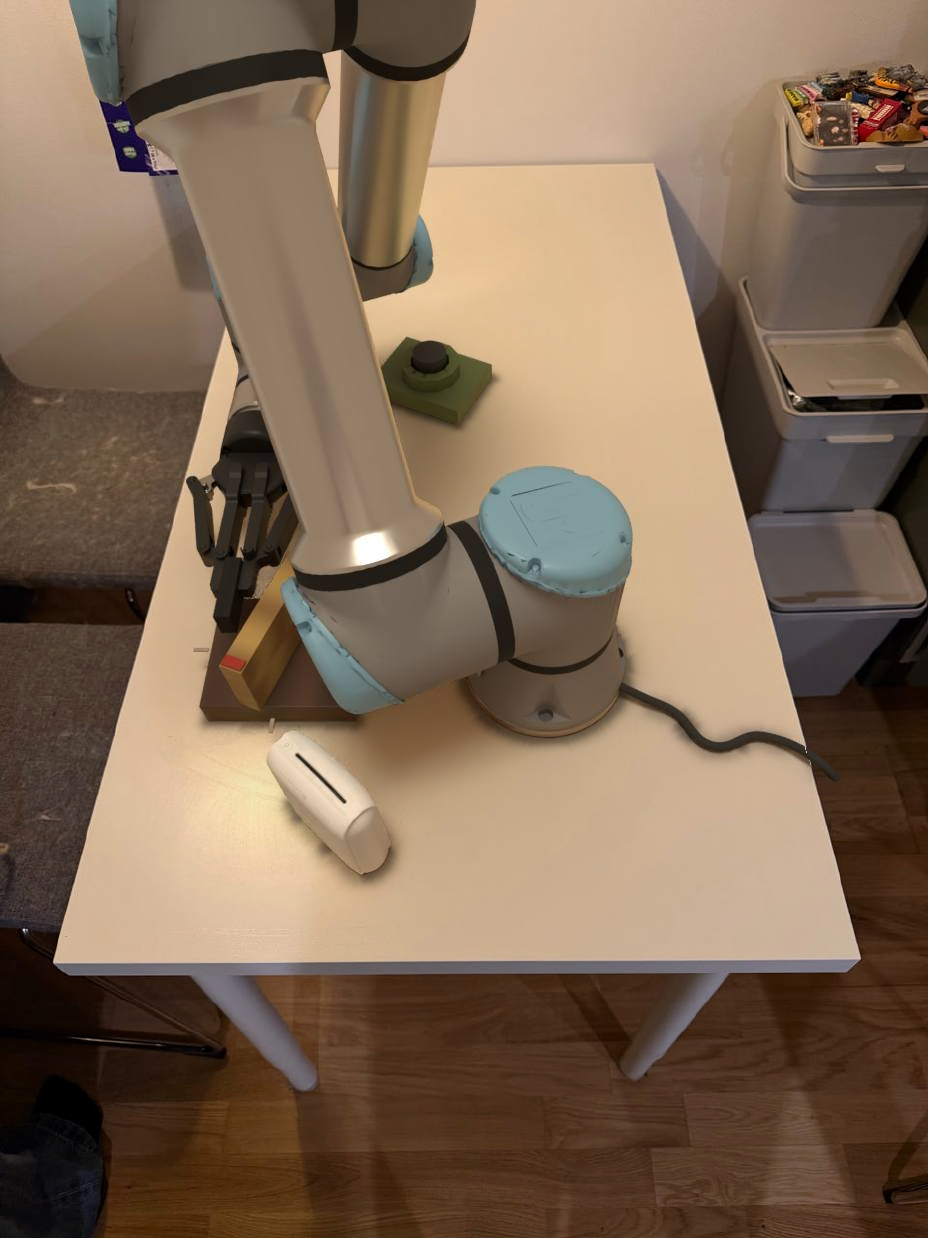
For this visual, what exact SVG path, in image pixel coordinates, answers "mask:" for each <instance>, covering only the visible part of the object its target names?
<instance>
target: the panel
mask: <svg viewBox="0 0 928 1238" xmlns="http://www.w3.org/2000/svg"><path fill="white" fill-rule="evenodd" d="M260 599H261V597H260V598H259V597H257V598H256V597H255V598H253V597H252V598H244V601H243V606H242V611H241V617H240V622H239V627H238V633H221V632H220V630H219V628H218V626H217V624H216V623H215V629H214V633H213V638H212V643H211V649H210V648H209V647H193V651H192V652H194V653H208V652H209V650H210V654H209V657H208V663H207V668H206V671H205V672H206V673H205V677H204V682H203V687H202V692H201V697H200V701H199V706H198V707H199V709H200V710H201V712H202V713H203V715H204V716H205V718H206V719H207V721H208V722H269V725H268V734H273V733H274V727H275V722H356V721H357V714H353V713H350V712H347V711H346V710H344V709H343V708H342V707H340V706H339V704H338V703H337V702H336V700H335V699H334V698H333V696H332V694H331V693H330V691H329V689H328V688H327V686H326V684H325V683H324V681H323V679H322V677H321V675H320V674H319V672H318V670H317V668H316V666H315V664H314V663H313V661H312V659H311V657H310V655H309V653H308V651H307V649H306V647H305V645H304V643H303V641H302V639H301V641H300V643H299V645H298V646H297V648H296V650H295V652H294V653H293V655H292V657H291V659H290V661H289V662H288V664H287V666H286V668H285V669H284V671H283V673H282V675H281V676H280V678H279V680H278V682H277V683H276V685H275V687H274V689H273V690H272V692H271V694H270V696H269V697H268V699H267V701H266V703H265V704H264V706H263V708H262V710H261V711H258V710H256V709H253V708H250V707H247V706H244V705H241V704H240V703H239V702H238V700H237V698H236V696H235V694H234V693H233V691H232V689H231V687H230V686H229V684H228V682H227V680H226V678H225V677H224V675H223V673H222V671H221V670H220V668H219V665H220V663H221V662H222V660H223V658H224V657H225V655H226V654H227V652H228V650H229V649H230V647H231V646H232V644H233V642H234V641H235V639H236V637H237V636H238V634H239V633H240V631H241V629H242V628H243V626H244V624H245V623H246V621H247V620H248V618H249V616H250V615H251V613H252V612H253V610H254V608H255V607H256V605H257V603H258V602H259V600H260Z"/></svg>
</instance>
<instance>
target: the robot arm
mask: <svg viewBox="0 0 928 1238" xmlns="http://www.w3.org/2000/svg"><path fill="white" fill-rule="evenodd" d="M68 2H69V3H68V4H69V7H70V11H71V14H72V18H73V21H74V24H75V26H76V27H75V28H76V32H77V36H78V39H79V44H80V47H81V50H82V54H83V57H84V63H85V66H86V71H87V73H88V77H89V80H90V84H91V87H92V89H93V93H94V95H95V97H96V98H97V99H98V100H99V101H100V102H103V103H109V104H111V105H113V106H117V105H118V104H120V103H122V102H124V103H125V106H126V108H127V111H128V113H129V116H130V119H131V122H132V124H133V127H134V131H135V134H136V136H137V137H139V138H140V139H142V140H143V141H145V142H146V143H147V144H149V145H151V146H152V147H154V148H155V149H157V150H158V151H160V152H161V153H163V154H164V155H165V156H167V157H168V158H169V159H170V160H171V161H172V162H173V163H174V166H175V168H176V171H177V173H178V176H179V179H180V182H181V185H182V188H183V191H184V194H185V197H186V200H187V202H188V206H189V209H190V211H191V214H192V217H193V220H194V223H195V226H196V228H197V232H198V234H199V237H200V240H201V243H202V246H203V249H204V251H205V261H206V265H207V269H208V272H209V273H208V274H209V275H210V280H211V287H212V289H213V293H214V297H215V298H216V301H217V304H218V307H219V309H220V313H221V316H222V318H223V321H224V324H225V328H226V331H227V334H228V337H229V339H230V344H231V348H232V351H233V353H234V357H235V360H236V362H237V371H238V372H237V377H236V381H235V386H234V391H233V395H232V400H231V403H230V406H229V411H228V414H227V420H226V425H225V428H224V433H223V436H222V442H221V446H220V450H219V458H218V461H217V462H216V463H215V464H214V465H213V467H212V468H211V472H210V474H208V475H206V476H204V477H201V478H200V479H199V477H198V476H196V475H190V476H188V477H186V479H185V483H186V485H187V486H186V487H187V488H188V490H189V493H190V494H191V497H192V501H193V502H192V503H193V518H194V531H195V534H194V535H195V546H196V547H195V548H196V551H197V553H198V555H199V557H200V560H201V561H202V564H203V565H204V567H206V568H212V571H211V576H210V581H209V589H210V591H211V592H212V595H213V596H214V599H215V604H214V609H213V613H212V618H213V620H214V622H215V625H216V624H217V626H218V628H219V630H220V632H221V633H238V627H239V622H240V617H241V611H242V606H243V601H244V598H253V597H254V596H255V594H256V590H257V583H258V578H259V572H260V571H261V570H262V569H263V568H265V567H268V566H269V567H271V568H277V567H279V566H281V564H282V562H283V560H284V559H283V558H284V557H285V554H286V552H287V550H288V548H289V546H290V543H291V542H292V539H293V537H294V534H295V533H296V530H297V529H298V526H299V527H300V532H299V534H298V536H297V537H296V539H295V541H294V543H293V545H292V547H291V549H290V550H289V552H290V553H289V552H288V553H289V559H290V562H291V565H292V568H293V571H294V573H295V576H296V577H294V576H292V577H289V578H288V579H287V581H286V582H284V583H282V585H281V587H280V593H281V596H282V598H283V601H284V603H285V606H286V608H287V610H288V612H289V615H290V617H291V619H292V621H293V622H294V624H295V626H296V627H297V630H298V632H299V634H300V636H301V638H302V641H303V643H304V645H305V647H306V649H307V651H308V653H309V655H310V657H311V659H312V661H313V663H314V664H315V666H316V668H317V670H318V672H319V674H320V675H321V677H322V679H323V681H324V683H325V684H326V686H327V688H328V689H329V691H330V693H331V694H332V696H333V698H334V699H335V700H336V702H337V703H338V704H339V706H340V707H342V708H343V709H344V710H346V711H347V712H350V713H353V714H356V715H363V714H367V713H371V712H374V711H376V710H379V709H382V708H386V707H389V706H391V705H402V704H405V703H406V700H408V699H411V698H413V697H416V696H419V695H422V694H424V693H427V692H430V691H432V690H435V689H438V688H440V687H442V686H445V685H448V684H450V683H454V682H455V681H459V680H461V679H464V678H466V682H467V685H468V688H469V691H470V694H471V695H472V697H473V698H474V700H475V702H476V703H477V705H478V706H479V707H480V708H481V710H482V711H483V712H484V713H486V715H488V716H489V717H490V718H491V719H492V720H493V721H495V722H496V723H498V724H499V725H501V726H503V727H505V728H507V729H509V730H510V731H513V732H516V733H519V734H523V735H526V736H532V737H541V738H555V737H562V736H567V735H571V734H574V733H577V732H580V731H583V730H585V729H586V728H588V727H591V726H592V725H593V724H595V723H596V722H597V721H599V720H600V719H601V718H603V716H605V715H606V714H607V713H608V711H610V709H611V708H612V707H613V706H614V703H615V702H616V700H617V698H618V696H619V695H620V693H623V694H625V695H627V696H629V697H632V698H634V699H636V700H638V701H640V702H642V703H644V704H646V705H649V706H650V707H654V708H656V709H658V710H661V711H662V712H665V713H666V714H668V715H670V716H672V717H673V718H675V720H677V721H678V723H679V724H680V725H681V726H682V727H683V728H684V730H685V731H686V733H687V734H688V735H689V737H690V738H691V739H692V740H693V741H694V742H695V743H696V744H698V745H699V746H701V747H702V748H704V749H706V750H710V751H714V752H727V751H730V750H733V749H735V748H737V747H740V746H742V745H745V744H746V743H748V742H752V741H762V742H767V743H771V744H775V745H778V746H782V747H784V748H787V749H789V750H791V751H793V752H795V753H797V754H799V755H801V756H802V757H804V758H805V759H807V760H808V761H810V762H811V763H813V764H814V766H816V767H817V768H818V769H820V770H821V771H822V772H823V773H824V774H825V775H826V776H827V778H829V780H831V781H832V782H835V783H838V782H840V781H841V777H840V775H839V774H838V772H837V771H836V770H835V769H834V767H832V766H831V765H830V764H829V763H828V761H826V760H825V759H824V758H822V757H821V756H820V755H819V754H818V753H816V752H814V751H813V750H811V749H810V748H809V747H807V746H805V745H803V744H801V743H800V742H797V741H796V740H793V739H791V738H788V737H786V736H783V735H781V734H776V733H772V732H768V731H763V730H760V731H759V730H754V731H748V732H747V731H746V732H744V733H742V734H740V735H737V736H735V737H733V738H731V739H728V740H725V741H714V740H710V739H708V738H707V737H705V736H703V734H702V733H700V731H698V729H697V728H696V727H695V726H694V724H693V723H692V721H691V720H690V719H689V718H688V717H687V715H686V714H685V713H683V712H682V711H681V710H680V709H679V708H677V707H676V706H674V705H672V704H670V703H668V702H667V701H664V700H662V699H659V698H657V697H654V696H653V695H650V694H648V693H645V692H643V691H641V690H639V689H637V688H635V687H633V686H630V685H628V684H626V683H624V679H625V678H624V677H625V672H626V653H625V647H624V642H623V639H622V637H621V634H620V631H619V628H618V626H617V619H618V615H619V612H620V611H619V610H620V606H621V602H622V598H623V594H624V591H625V586H626V582H627V579H628V577H629V575H630V573H631V569H632V565H633V555H632V553H633V542H634V541H633V540H634V537H633V535H634V534H633V533H634V532H633V526H632V521H631V519H630V516H629V514H628V512H627V510H626V507H625V506H624V505H623V503H622V502H621V501H620V499H619V498H618V497H617V496H616V494H614V493H613V492H612V491H611V489H609V487H607V486H606V485H604V484H603V483H601V482H600V481H598V480H597V479H595V478H594V477H592V476H589V475H582V474H579V473H577V472H575V471H574V470H573V469H570V468H567V467H561V466H555V465H535V466H528V467H523V468H519V469H517V470H514V471H511V472H509V473H506V474H505V475H504V476H502V477H500V478H499V479H498V480H497V481H496V482H494V483H493V484H492V485H491V486H490V488H489V491H488V493H487V494H486V495H485V496H484V498H483V499H482V501H481V503H480V504H479V509H478V513H477V514H476V515H474V516H469V517H468V518H467V517H466V518H465V519H461V520H458V521H456V522H452V523H449V524H445V521H444V517H443V515H442V513H441V510H440V509H439V507H436V506H435V505H433V504H431V503H429V502H427V501H425V500H423V499H422V498H420V497H418V496H417V494H416V493H415V488H414V485H413V481H412V477H411V474H410V470H409V466H408V464H407V459H406V456H405V455H406V454H405V451H404V448H403V444H402V441H401V437H400V433H399V430H398V426H397V423H396V419H395V416H394V411H393V408H392V405H391V401H390V400H389V397H388V393H387V389H386V386H385V382H384V378H383V375H382V371H381V365H380V364H381V363H380V361H379V357H378V353H377V349H376V346H375V342H374V339H373V334H372V331H371V327H370V324H369V321H368V317H367V313H366V308H365V305H364V302H368V301H369V302H370V301H373V300H376V299H379V298H384V297H387V296H391V295H393V294H395V295H397V294H402V293H404V292H407V290H409V289H411V288H415V287H418V286H421V285H424V284H426V283H427V282H428V281H429V280H430V279H431V277H432V276H433V273H434V267H435V266H434V260H433V257H434V249H433V245H432V241H431V236H430V233H429V230H428V228H427V225H426V223H425V220H424V219H423V217H422V216H421V214H420V209H421V204H422V199H423V194H424V189H425V183H426V178H427V174H428V168H429V163H430V158H431V153H432V148H433V143H434V138H435V132H436V128H437V122H438V119H439V113H440V108H441V103H442V99H443V92H444V88H445V82H446V77H447V73H448V72H450V71H451V70H452V69H454V68H455V66H456V65H457V64H458V63H459V62H460V60H461V58H462V57H463V55H464V53H465V52H466V49H467V46H468V43H469V39H470V35H471V31H472V26H473V21H474V17H475V13H476V8H477V0H68ZM338 51H340V77H339V79H340V80H339V119H338V120H339V122H338V124H339V125H338V126H339V127H338V164H337V165H338V166H337V169H338V170H337V201H336V200H335V199H336V198H335V195H334V192H333V187H332V185H331V184H332V183H331V181H330V178H329V177H330V176H329V174H328V170H327V166H326V163H325V159H324V155H323V151H322V149H321V144H320V140H319V137H318V133H317V120H318V117H319V115H320V113H321V111H322V109H323V106H324V104H325V101H326V100H327V97H328V95H329V93H330V90H331V88H332V87H331V86H332V85H331V82H330V78H329V75H328V70H327V67H326V62H325V58H324V55H325V54H329V53H334V52H338ZM216 488H217V489H218V490H219V491H220V492H221V494H222V496H223V497H224V500H225V502H224V507H223V510H222V511H223V512H222V516H221V521H220V526H219V531H218V535H217V539H216V538H215V537H216V536H215V525H214V514H213V513H214V512H213V507H212V503H211V502H212V501H214V496H215V489H216ZM285 494H286V497H285V498H284V501H283V502H282V505H281V507H280V509H279V511H278V513H277V516H276V517H275V519H274V522H273V523H272V525H271V527H270V530H269V525H270V520H271V518H272V517H273V511H274V507H275V503H276V502H278V501H279V500H280V499H281V498H282V497H283V496H284V495H285ZM249 508H250V510H249ZM248 511H249V515H248ZM247 515H248V520H247V526H246V531H245V536H244V541H243V546H242V547H239V545H240V540H241V536H242V531H243V526H244V521H245V518H247ZM268 531H269V532H268ZM239 549H240V553H241V554H242V557H243V558H242V557H241V556H237V555H238V551H239ZM805 747H806V750H805ZM806 751H807V753H806Z"/></svg>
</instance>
